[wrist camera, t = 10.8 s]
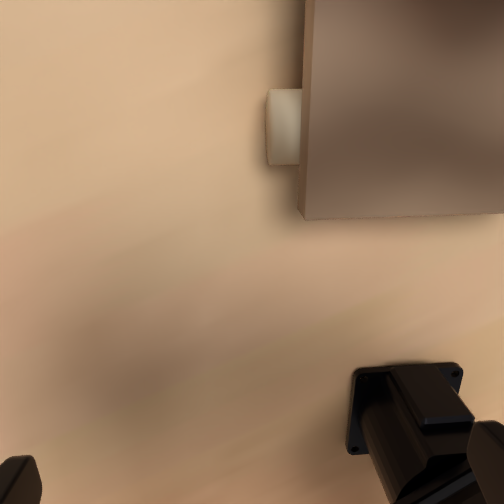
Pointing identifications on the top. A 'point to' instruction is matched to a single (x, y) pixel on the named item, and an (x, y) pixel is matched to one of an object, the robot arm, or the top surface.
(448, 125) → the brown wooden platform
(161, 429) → the top surface
